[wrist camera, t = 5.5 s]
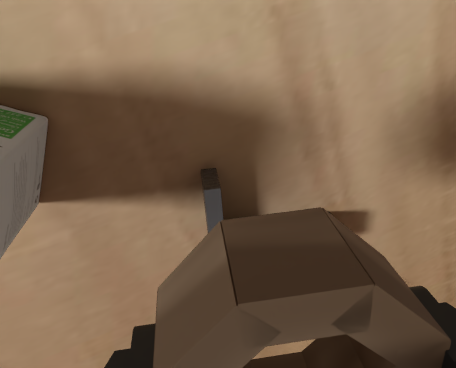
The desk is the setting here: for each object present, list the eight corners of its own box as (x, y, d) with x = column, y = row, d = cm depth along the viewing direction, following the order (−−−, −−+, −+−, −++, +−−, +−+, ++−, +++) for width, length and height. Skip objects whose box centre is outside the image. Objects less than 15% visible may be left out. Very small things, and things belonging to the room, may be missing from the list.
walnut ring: (145, 230, 10) (133, 319, 7) (391, 198, 10) (468, 271, 7) (179, 397, 12) (180, 506, 10) (370, 366, 13) (421, 462, 10)
